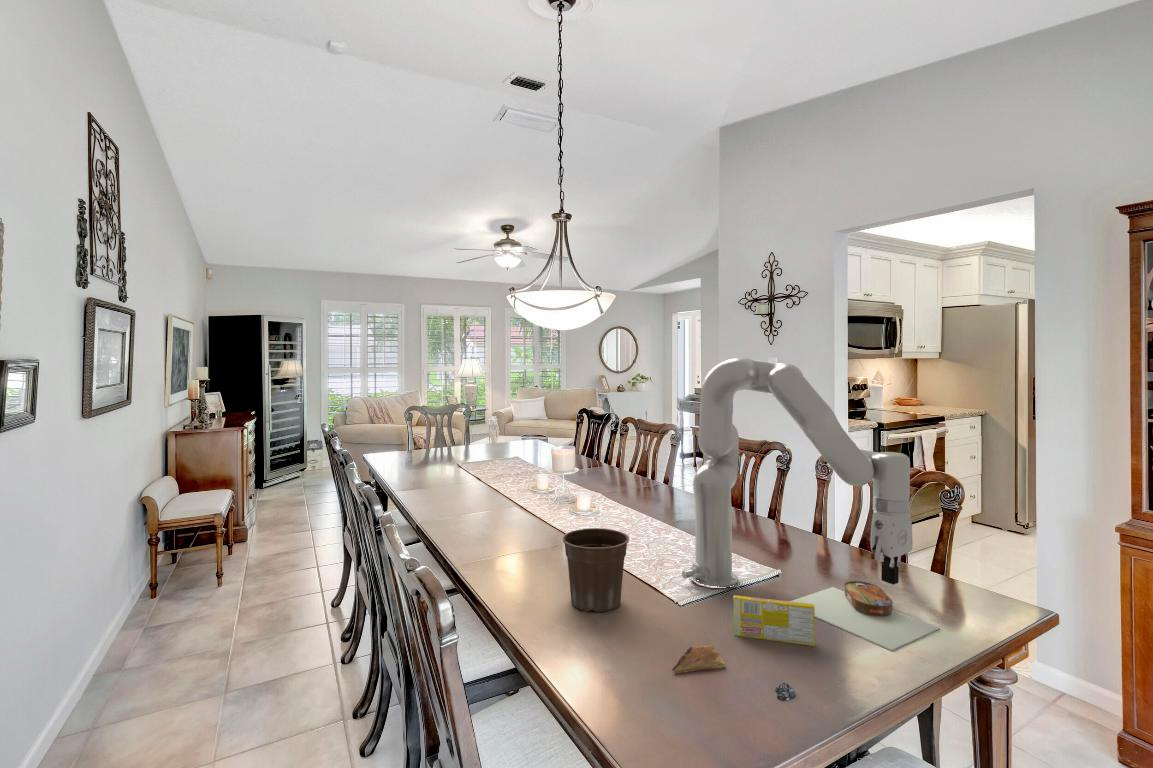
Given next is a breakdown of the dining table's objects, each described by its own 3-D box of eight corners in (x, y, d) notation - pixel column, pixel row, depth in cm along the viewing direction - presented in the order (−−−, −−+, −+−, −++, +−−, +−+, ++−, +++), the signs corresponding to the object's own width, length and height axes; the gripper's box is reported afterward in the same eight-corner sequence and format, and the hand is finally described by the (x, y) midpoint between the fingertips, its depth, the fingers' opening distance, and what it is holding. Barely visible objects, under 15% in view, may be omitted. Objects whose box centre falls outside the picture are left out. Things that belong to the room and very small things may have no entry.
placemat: (891, 651, 113) (891, 649, 113) (785, 604, 136) (785, 602, 136) (940, 628, 122) (940, 627, 122) (832, 588, 145) (832, 587, 145)
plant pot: (595, 583, 150) (594, 523, 149) (643, 601, 138) (642, 536, 137) (549, 602, 138) (548, 537, 138) (597, 623, 127) (596, 552, 126)
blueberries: (760, 705, 98) (760, 695, 97) (762, 677, 105) (762, 667, 105) (802, 713, 95) (802, 703, 95) (801, 684, 103) (802, 674, 102)
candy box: (814, 642, 117) (814, 603, 117) (815, 647, 115) (815, 607, 115) (733, 631, 123) (733, 593, 122) (733, 635, 121) (733, 597, 120)
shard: (672, 677, 106) (672, 668, 106) (659, 656, 113) (659, 647, 113) (726, 671, 108) (726, 661, 108) (710, 650, 115) (709, 642, 115)
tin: (898, 607, 127) (857, 601, 128) (896, 620, 127) (856, 614, 128) (876, 582, 141) (840, 577, 143) (875, 594, 141) (839, 589, 143)
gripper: (888, 513, 126) (887, 594, 126) (924, 504, 133) (923, 580, 134) (856, 506, 132) (855, 583, 133) (893, 497, 140) (892, 570, 140)
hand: (889, 581), depth 133 cm, fingers closed
